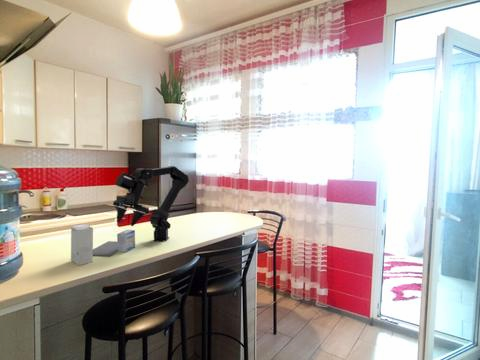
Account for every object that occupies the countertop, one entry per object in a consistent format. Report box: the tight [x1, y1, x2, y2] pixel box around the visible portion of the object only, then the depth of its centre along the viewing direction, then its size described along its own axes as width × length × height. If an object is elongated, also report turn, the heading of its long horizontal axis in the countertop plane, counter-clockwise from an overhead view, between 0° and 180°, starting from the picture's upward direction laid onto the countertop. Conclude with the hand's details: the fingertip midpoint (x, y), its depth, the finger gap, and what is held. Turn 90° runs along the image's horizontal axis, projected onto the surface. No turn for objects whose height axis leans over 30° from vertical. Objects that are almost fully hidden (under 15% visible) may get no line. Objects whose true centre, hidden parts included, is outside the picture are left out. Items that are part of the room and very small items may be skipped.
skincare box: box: [70, 224, 94, 266], centre depth 118 cm, size 8×6×15 cm
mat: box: [93, 240, 119, 257], centre depth 135 cm, size 12×20×1 cm, turn 175°
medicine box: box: [116, 229, 136, 253], centre depth 134 cm, size 8×4×9 cm, turn 170°
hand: (124, 224), depth 134 cm, fingers open, 9 cm apart
